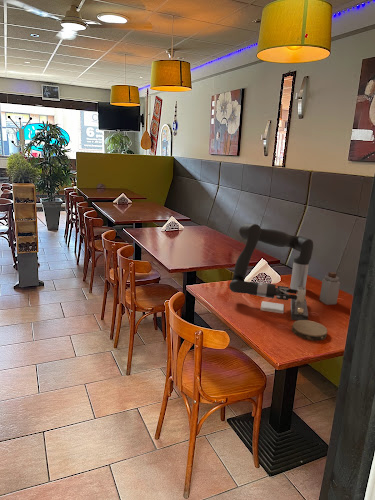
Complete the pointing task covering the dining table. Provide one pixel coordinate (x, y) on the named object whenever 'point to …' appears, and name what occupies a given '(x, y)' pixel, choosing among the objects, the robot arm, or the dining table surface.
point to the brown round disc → (309, 330)
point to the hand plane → (298, 311)
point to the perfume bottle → (330, 289)
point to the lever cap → (300, 297)
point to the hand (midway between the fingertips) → (296, 294)
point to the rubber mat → (272, 307)
